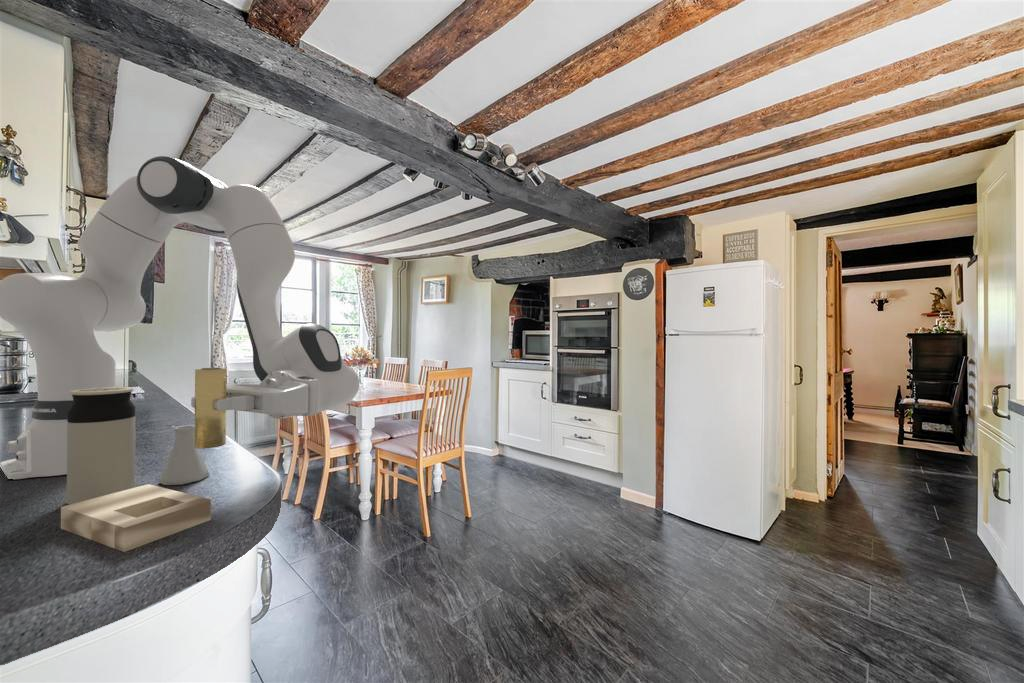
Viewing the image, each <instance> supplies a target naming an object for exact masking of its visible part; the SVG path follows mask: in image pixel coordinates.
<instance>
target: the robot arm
mask: <svg viewBox="0 0 1024 683" xmlns="http://www.w3.org/2000/svg"><path fill="white" fill-rule="evenodd" d="M137 172H138V173H137V175H134V176H131V177H128V178H127V179H126V180H125V181H124V182H122V183H121V185H119V186H118V187H117V188H116V189H115V190H113V192H112V193H111V194H110V195H109V196H108V197H107V199H106V200H105V201H104V202H103V203H102V204H101V206H100V208H99V209H98V211H96V213H95V215H94V216H93V217H92V219H91V220H90V222H89V223H88V225H87V226H86V227H85V229H84V231H83V232H82V233H81V235H80V237H79V238H78V240H77V248H78V250H79V252H80V253H81V254H82V255H83V257H84V258H85V259H86V261H85V262H86V264H85V268H84V271H83V273H82V274H81V275H80V276H78V277H77V276H76V277H75V276H71V275H64V274H58V273H53V272H26V273H25V272H24V273H21V272H20V273H14V274H10V275H8V276H6V277H3V278H2V279H1V280H0V318H1V319H2V320H4V321H5V322H7V323H9V324H10V325H11V326H13V327H14V328H15V329H16V330H17V331H18V332H20V333H21V335H22V336H23V337H24V339H25V340H26V341H27V343H28V344H27V345H29V348H30V349H31V351H32V354H33V357H34V360H35V364H36V375H37V376H36V377H37V383H36V384H37V400H35V401H34V403H33V406H32V409H31V411H32V413H31V418H32V421H31V422H30V424H28V426H26V428H25V429H24V430H23V431H22V433H21V434H20V435H19V436H18V437H17V439H16V440H10V441H7V444H6V446H7V447H6V450H7V454H14V453H16V456H15V457H16V458H12V459H6V460H4V461H1V462H0V467H1V469H2V471H3V472H4V474H5V475H6V476H7V478H8V479H13V480H23V479H28V478H29V479H30V478H39V477H40V478H41V477H42V478H43V477H54V476H63V475H67V412H68V411H69V409H70V408H71V406H72V405H73V404H74V401H73V397H72V395H71V394H70V392H71V391H73V390H80V389H90V388H106V387H116V369H117V368H116V361H115V359H114V358H113V356H112V355H111V354H109V353H108V352H106V351H105V350H103V348H102V347H101V346H100V345H99V343H98V341H97V339H96V336H95V332H115V331H116V332H117V331H122V330H125V329H131V328H134V327H135V326H136V327H137V325H139V324H140V323H141V322H142V321H143V319H144V318H145V316H146V313H147V312H146V311H147V307H146V306H147V305H146V302H145V300H144V298H143V296H142V294H141V289H142V288H141V287H142V282H143V279H144V276H145V273H146V271H147V268H148V267H149V265H150V264H151V262H152V261H153V259H154V258H155V256H156V254H157V253H158V252H159V250H160V248H161V247H162V245H163V244H164V243H165V241H166V240H167V238H168V237H169V235H170V233H171V231H172V230H173V229H174V228H175V227H176V226H177V225H180V224H183V223H187V224H189V225H192V226H193V227H195V228H197V229H202V230H205V231H208V232H211V233H216V234H225V236H226V238H227V241H228V243H229V246H230V248H231V252H232V255H233V259H234V262H235V270H236V291H237V297H238V301H239V306H240V308H241V313H242V315H243V316H242V317H243V319H244V323H245V326H246V329H247V332H248V336H249V340H250V343H251V348H252V367H253V370H254V373H255V375H256V377H257V378H258V380H260V383H258V384H256V383H245V382H244V383H240V382H239V383H226V398H220V399H214V400H213V409H214V410H217V411H225V410H226V411H240V412H248V413H254V414H264V415H269V417H271V418H273V419H274V420H275V419H276V420H281V419H287V418H294V417H308V416H309V417H311V416H312V417H313V416H316V415H318V414H319V412H325V411H330V410H334V409H338V408H340V407H344V406H346V405H347V404H349V403H350V402H352V401H353V400H354V398H355V397H356V396H357V394H358V392H359V389H360V388H359V387H360V380H359V376H358V374H357V372H356V371H355V370H354V369H353V368H351V367H350V366H349V365H348V364H347V363H346V361H345V360H344V359H343V357H342V355H341V354H342V353H341V348H340V345H339V342H338V339H337V337H336V336H335V334H334V333H333V332H332V331H331V330H329V329H328V328H327V327H325V326H323V325H321V324H317V323H313V322H312V323H311V322H309V323H305V324H303V325H302V326H300V327H297V328H296V329H294V330H292V331H291V332H290V333H288V334H287V335H286V336H283V333H282V330H281V327H280V322H279V320H278V316H277V313H276V308H275V303H276V302H275V300H276V297H277V294H278V292H279V289H280V287H281V286H282V284H283V282H284V281H285V279H286V277H288V275H289V273H290V272H291V271H292V268H293V266H294V263H295V259H296V256H295V255H296V253H295V248H294V244H293V242H292V239H291V236H290V234H289V232H288V230H287V227H286V226H285V224H284V221H283V220H282V218H281V216H280V214H279V212H278V210H277V209H276V207H275V205H273V202H272V201H271V200H270V199H269V197H268V196H267V194H266V193H265V192H264V191H263V190H261V189H260V188H258V187H256V186H253V185H250V184H246V183H245V184H244V183H243V184H235V185H231V186H228V185H227V184H225V183H224V182H222V181H221V180H219V179H218V178H217V177H215V176H214V175H211V174H208V173H206V172H204V171H202V170H200V169H198V168H196V167H195V166H193V165H192V164H190V163H189V162H186V161H183V160H181V159H179V158H174V157H171V156H164V155H161V156H154V157H152V158H150V159H148V160H146V161H145V162H144V163H143V164H142V165H141V167H140V168H139V170H138V171H137ZM190 404H191V408H193V409H195V395H194V396H192V397H191V402H190ZM1 469H0V470H1ZM2 471H1V472H2ZM3 472H2V473H3ZM4 474H3V475H4ZM5 475H4V476H5ZM6 476H5V477H6ZM7 478H6V479H7ZM8 479H7V480H8Z"/></svg>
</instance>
